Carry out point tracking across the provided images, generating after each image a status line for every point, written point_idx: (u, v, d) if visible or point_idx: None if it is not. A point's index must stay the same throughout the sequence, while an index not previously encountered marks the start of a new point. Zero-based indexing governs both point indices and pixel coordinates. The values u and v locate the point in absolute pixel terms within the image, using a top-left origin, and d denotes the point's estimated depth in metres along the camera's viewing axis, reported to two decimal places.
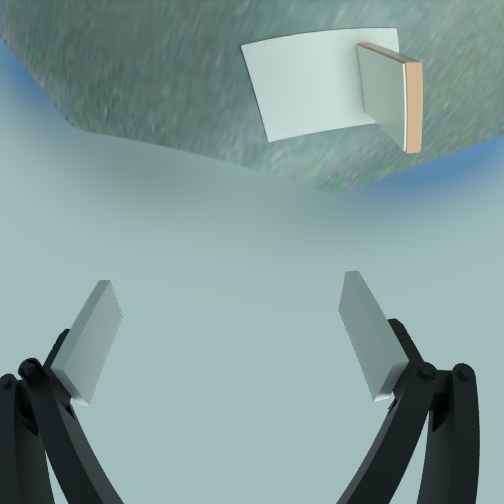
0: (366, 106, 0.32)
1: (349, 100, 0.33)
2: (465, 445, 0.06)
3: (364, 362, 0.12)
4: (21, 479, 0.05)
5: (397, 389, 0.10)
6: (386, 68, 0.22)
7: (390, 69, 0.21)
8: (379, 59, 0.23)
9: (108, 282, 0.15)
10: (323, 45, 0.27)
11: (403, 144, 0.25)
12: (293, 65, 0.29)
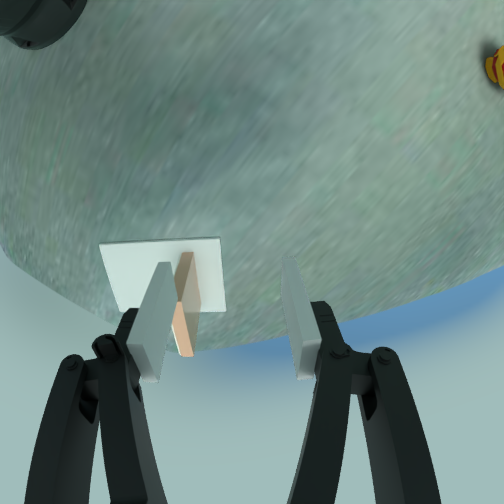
0: None
1: None
2: (405, 430, 0.07)
3: (291, 342, 0.14)
4: (61, 468, 0.06)
5: (316, 368, 0.11)
6: None
7: None
8: None
9: (168, 263, 0.16)
10: (154, 253, 0.43)
11: (178, 350, 0.38)
12: (133, 265, 0.44)
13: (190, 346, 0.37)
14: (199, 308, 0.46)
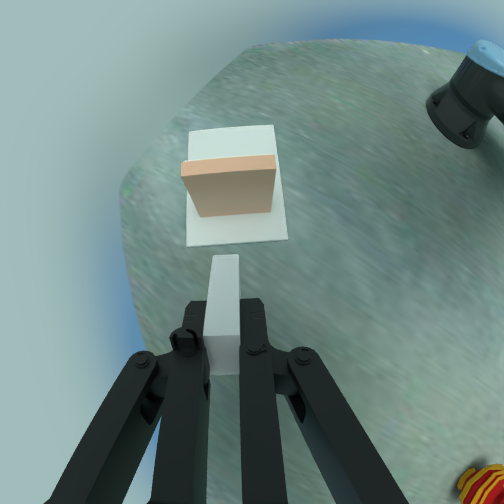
0: None
1: None
2: (341, 430, 0.07)
3: None
4: (105, 469, 0.06)
5: None
6: None
7: None
8: None
9: (224, 256, 0.17)
10: None
11: (190, 161, 0.30)
12: (251, 152, 0.43)
13: (200, 173, 0.29)
14: (202, 211, 0.39)
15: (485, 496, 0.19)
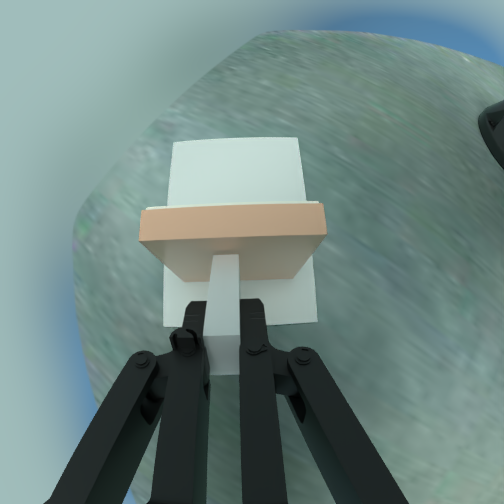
0: None
1: None
2: (341, 430, 0.07)
3: None
4: (105, 469, 0.06)
5: None
6: None
7: None
8: None
9: (224, 256, 0.17)
10: None
11: None
12: (265, 178, 0.29)
13: (176, 237, 0.15)
14: (186, 277, 0.24)
15: None
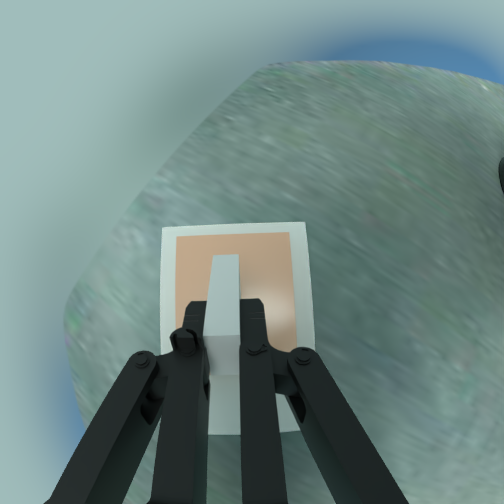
0: None
1: None
2: (342, 430, 0.07)
3: None
4: (105, 469, 0.06)
5: None
6: None
7: None
8: None
9: (224, 256, 0.17)
10: None
11: None
12: None
13: (199, 236, 0.25)
14: None
15: None
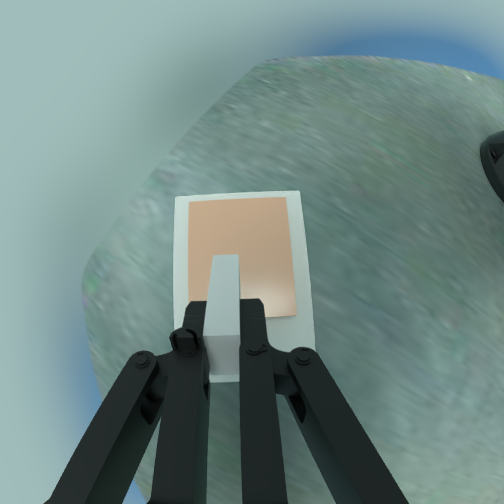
0: None
1: None
2: (341, 430, 0.07)
3: None
4: (105, 469, 0.06)
5: None
6: None
7: None
8: None
9: (224, 256, 0.17)
10: None
11: None
12: None
13: (209, 201, 0.29)
14: (195, 296, 0.27)
15: None
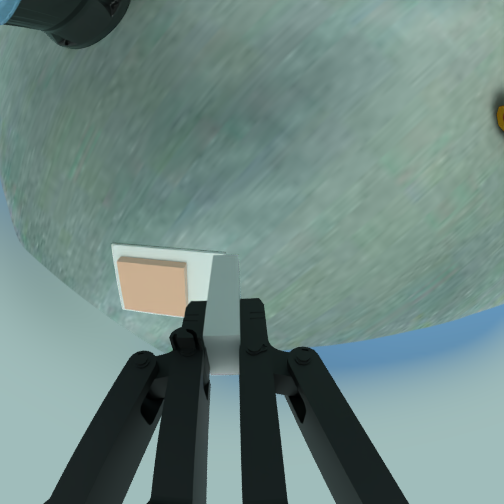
0: None
1: None
2: (341, 430, 0.07)
3: None
4: (105, 469, 0.06)
5: None
6: None
7: None
8: None
9: (224, 256, 0.17)
10: (163, 259, 0.47)
11: None
12: None
13: (123, 299, 0.49)
14: (174, 312, 0.49)
15: None
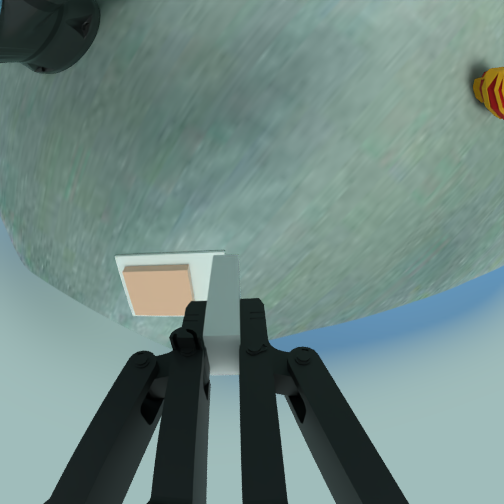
0: None
1: None
2: (342, 430, 0.07)
3: None
4: (105, 469, 0.06)
5: None
6: None
7: None
8: None
9: (224, 256, 0.17)
10: (166, 264, 0.49)
11: None
12: None
13: (133, 306, 0.51)
14: (183, 312, 0.52)
15: None
